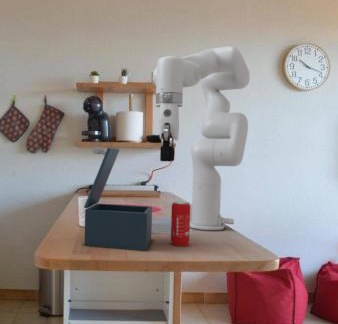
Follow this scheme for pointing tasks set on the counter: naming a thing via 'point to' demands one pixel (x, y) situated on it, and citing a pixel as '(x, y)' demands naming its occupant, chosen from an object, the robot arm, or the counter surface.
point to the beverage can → (180, 223)
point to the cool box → (118, 226)
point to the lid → (101, 174)
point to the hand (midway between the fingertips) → (167, 161)
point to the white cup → (83, 209)
